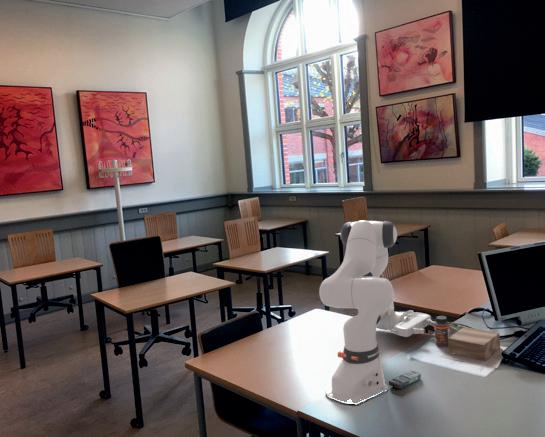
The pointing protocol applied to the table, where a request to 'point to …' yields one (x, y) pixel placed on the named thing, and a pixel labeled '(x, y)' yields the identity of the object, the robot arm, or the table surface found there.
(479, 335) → the walnut block
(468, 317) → the table surface
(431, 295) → the table surface
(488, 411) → the table surface
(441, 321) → the supplement bottle
